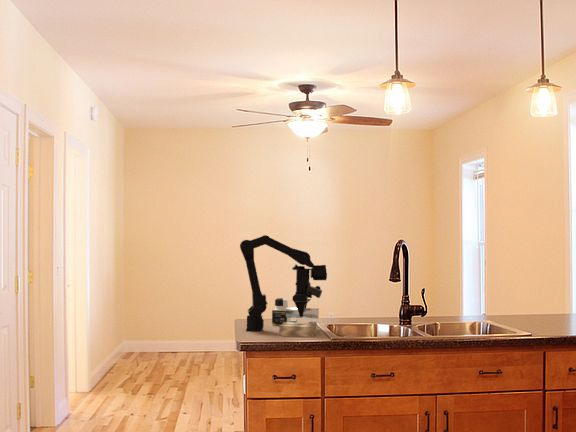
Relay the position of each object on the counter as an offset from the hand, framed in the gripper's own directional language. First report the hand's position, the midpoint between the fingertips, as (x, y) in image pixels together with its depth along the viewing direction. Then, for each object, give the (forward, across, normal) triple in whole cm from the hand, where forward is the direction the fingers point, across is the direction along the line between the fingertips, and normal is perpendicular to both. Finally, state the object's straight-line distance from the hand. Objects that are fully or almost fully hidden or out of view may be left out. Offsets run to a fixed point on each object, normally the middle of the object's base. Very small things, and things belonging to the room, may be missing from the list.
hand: (302, 316), depth 298 cm
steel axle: (-1, 0, 0) cm, 1 cm away
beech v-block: (+6, -12, 0) cm, 13 cm away
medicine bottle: (+6, +16, +12) cm, 21 cm away
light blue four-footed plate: (+6, 0, 0) cm, 6 cm away
